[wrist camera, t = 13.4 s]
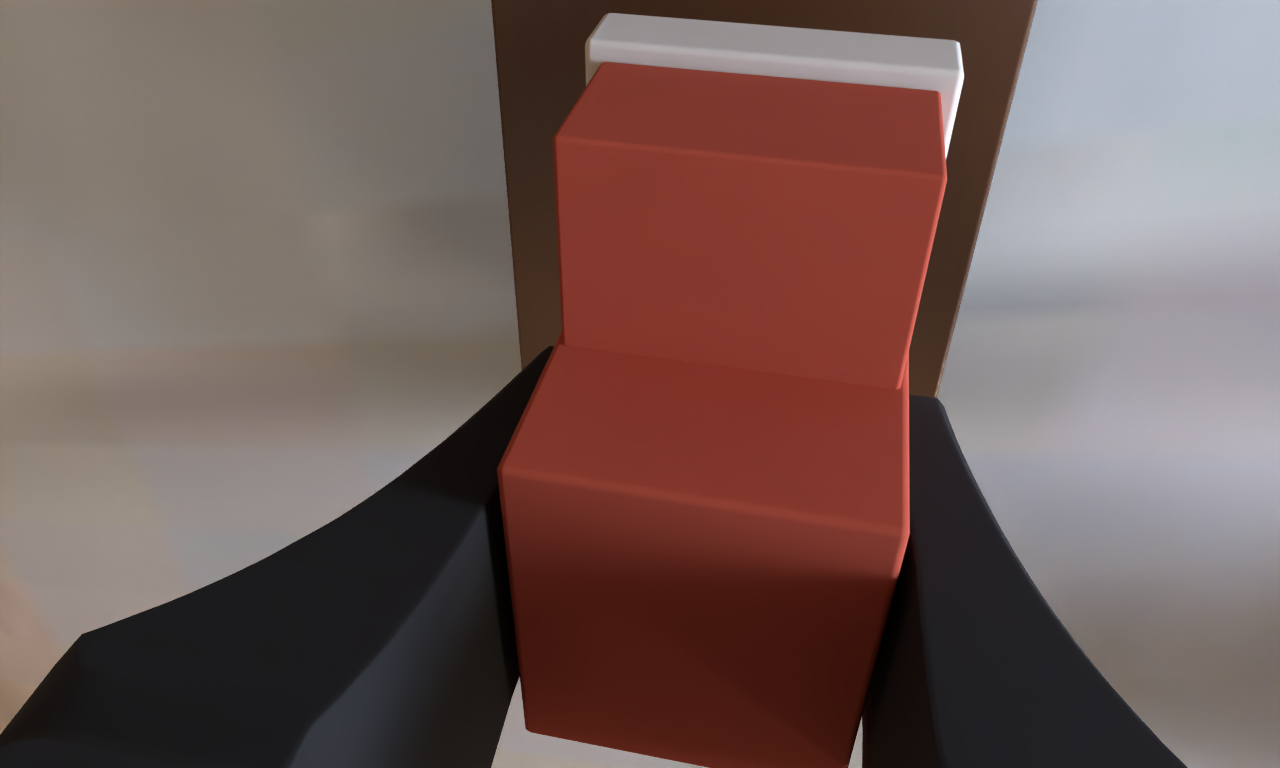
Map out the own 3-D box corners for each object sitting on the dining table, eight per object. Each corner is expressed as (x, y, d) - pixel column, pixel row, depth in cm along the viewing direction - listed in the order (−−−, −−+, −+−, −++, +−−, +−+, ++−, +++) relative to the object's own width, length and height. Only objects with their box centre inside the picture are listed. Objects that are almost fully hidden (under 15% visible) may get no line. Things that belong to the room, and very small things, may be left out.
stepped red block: (862, 504, 15) (848, 807, 11) (610, 465, 16) (516, 741, 12) (961, 37, 11) (993, 281, 7) (604, 9, 11) (452, 218, 8)
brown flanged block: (895, 404, 22) (892, 571, 18) (593, 363, 23) (532, 513, 19) (1069, -383, 14) (1135, -375, 10) (574, -390, 15) (456, -388, 11)
